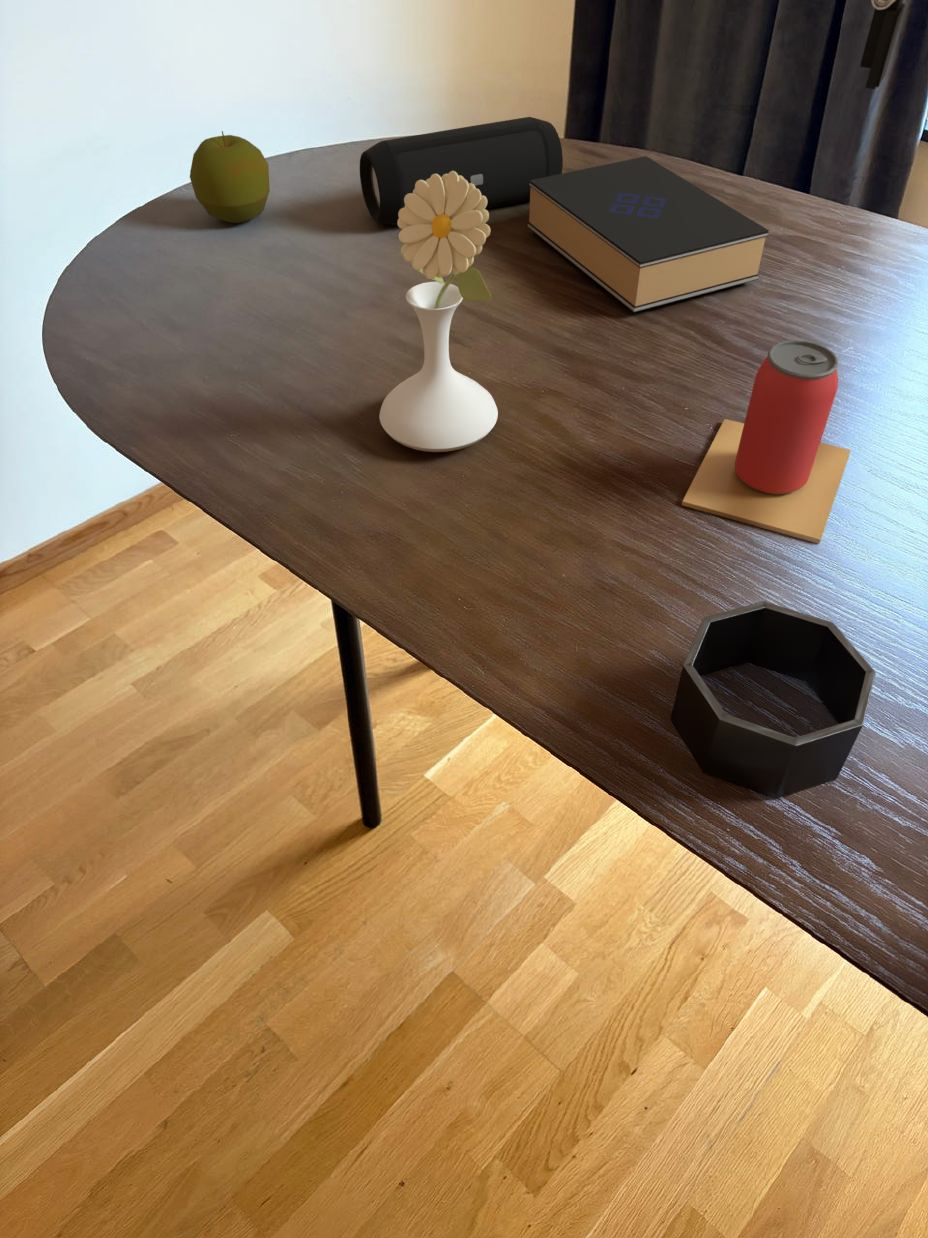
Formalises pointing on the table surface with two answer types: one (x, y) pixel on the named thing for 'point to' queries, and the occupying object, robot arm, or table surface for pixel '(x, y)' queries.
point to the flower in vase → (441, 317)
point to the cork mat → (775, 512)
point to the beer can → (787, 416)
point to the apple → (230, 178)
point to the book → (645, 232)
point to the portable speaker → (461, 163)
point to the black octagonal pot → (787, 650)
